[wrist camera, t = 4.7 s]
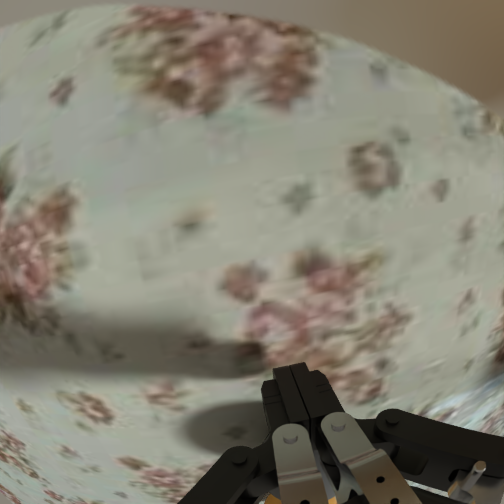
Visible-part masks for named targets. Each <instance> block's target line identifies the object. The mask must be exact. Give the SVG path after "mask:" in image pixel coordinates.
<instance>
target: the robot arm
mask: <svg viewBox="0 0 504 504" xmlns="http://www.w3.org/2000/svg"><path fill="white" fill-rule="evenodd" d="M261 393H262V399H263V406H264V412H265V416H266V420H267V424H268V428H269V432H270V436H269V438H268V440H267V441H266V442H265V443H263V444H262V445H260V446H258V447H256V448H253V449H251V448H249V447H245V446H237V447H233V448H230V449H228V450H227V451H226V452H225V453H224V454H223V455H222V456H221V457H220V458H219V459H218V461H217V462H216V463H215V464H214V465H213V466H212V467H211V468H210V470H209V471H208V472H207V473H206V474H205V475H204V476H203V477H202V478H201V479H200V480H199V482H198V483H197V484H196V485H195V486H194V487H193V488H192V489H191V490H190V491H189V492H188V493H187V494H186V495H185V496H184V497H183V498H182V499H181V500H180V501H179V502H178V503H177V504H259V502H260V501H261V499H262V498H263V497H264V495H265V493H267V492H269V491H271V490H273V489H275V488H277V487H279V490H280V497H281V504H329V502H328V498H327V494H326V491H325V487H324V483H323V479H322V475H321V473H320V471H318V469H317V466H316V462H315V458H314V454H313V451H315V450H318V453H319V455H320V459H319V462H320V465H321V467H322V469H323V471H324V473H325V475H326V477H327V479H328V481H329V483H330V485H331V487H332V489H333V491H334V493H335V496H336V501H337V504H500V503H501V500H502V497H503V494H504V437H501V436H496V435H491V434H487V433H482V432H478V431H474V430H469V429H465V428H461V427H457V426H454V425H450V424H446V423H442V422H439V421H435V420H432V419H428V418H425V417H422V416H418V415H415V414H412V413H408V412H405V411H402V410H399V409H387V410H384V411H382V412H380V413H379V414H378V416H377V417H376V419H355V418H353V417H352V416H351V415H349V414H347V413H345V411H344V409H343V408H342V406H341V404H340V402H339V400H338V398H337V396H336V394H335V393H334V391H333V389H332V387H331V385H330V384H329V381H328V379H327V378H326V376H325V375H324V374H323V373H321V372H320V371H319V370H314V371H310V372H309V370H308V368H307V366H306V363H305V362H302V363H297V364H293V365H289V366H283V367H278V368H273V380H268V381H264V382H263V385H262V388H261ZM405 479H407V480H410V481H413V482H416V483H419V484H422V485H425V486H428V487H432V488H435V489H438V490H442V491H445V492H448V496H449V498H448V497H445V496H441V495H438V494H435V493H432V492H429V491H426V490H424V489H421V488H418V487H414V486H409V484H408V483H407V482H406V480H405Z"/></svg>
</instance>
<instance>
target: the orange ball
mask: <svg viewBox="0 0 504 504" xmlns="http://www.w3.org/2000/svg"><path fill="white" fill-rule="evenodd" d="M328 502H329V504H337V501H336V498H335V497H333V498H331V499H329V500H328ZM264 504H281V500H279V499H277V498H276V497H274V496H273V495H272V494H271V493H270V494H269V496H268V497H267V499H266V501H265V503H264Z"/></svg>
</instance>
